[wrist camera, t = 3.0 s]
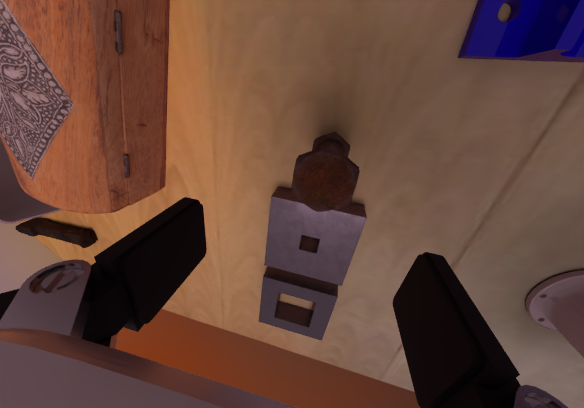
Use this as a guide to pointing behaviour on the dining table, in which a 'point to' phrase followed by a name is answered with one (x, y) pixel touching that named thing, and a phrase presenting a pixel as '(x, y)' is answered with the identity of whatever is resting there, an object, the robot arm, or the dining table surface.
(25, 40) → the wooden box
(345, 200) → the bolt
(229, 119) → the dining table surface
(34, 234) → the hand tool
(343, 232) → the narrow-bore block
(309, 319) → the wide-bore block
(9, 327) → the robot arm
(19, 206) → the tank
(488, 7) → the mounting bracket
